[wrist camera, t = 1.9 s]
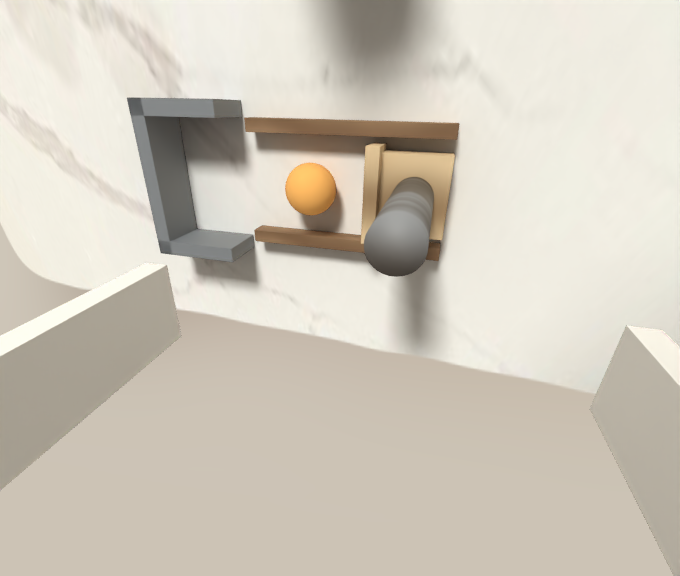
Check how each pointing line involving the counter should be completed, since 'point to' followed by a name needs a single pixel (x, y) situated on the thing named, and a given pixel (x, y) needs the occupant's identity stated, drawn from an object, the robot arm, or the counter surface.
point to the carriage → (403, 206)
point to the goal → (179, 176)
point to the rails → (348, 129)
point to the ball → (310, 189)
